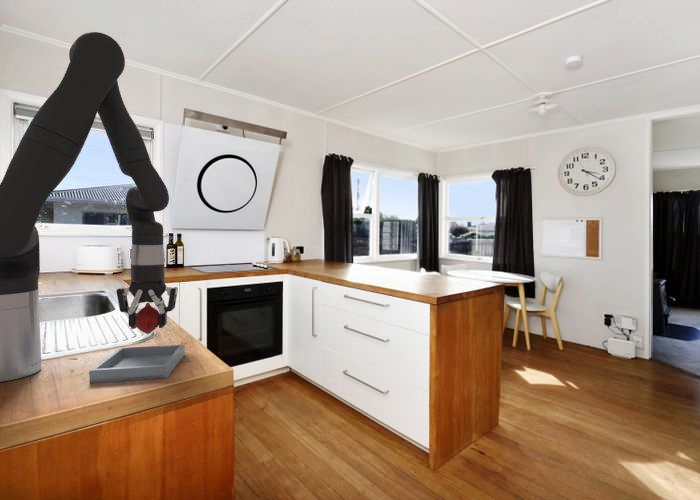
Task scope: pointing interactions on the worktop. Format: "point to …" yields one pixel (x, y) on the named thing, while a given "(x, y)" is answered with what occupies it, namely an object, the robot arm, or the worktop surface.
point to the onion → (147, 319)
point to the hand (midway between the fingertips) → (148, 327)
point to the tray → (138, 364)
